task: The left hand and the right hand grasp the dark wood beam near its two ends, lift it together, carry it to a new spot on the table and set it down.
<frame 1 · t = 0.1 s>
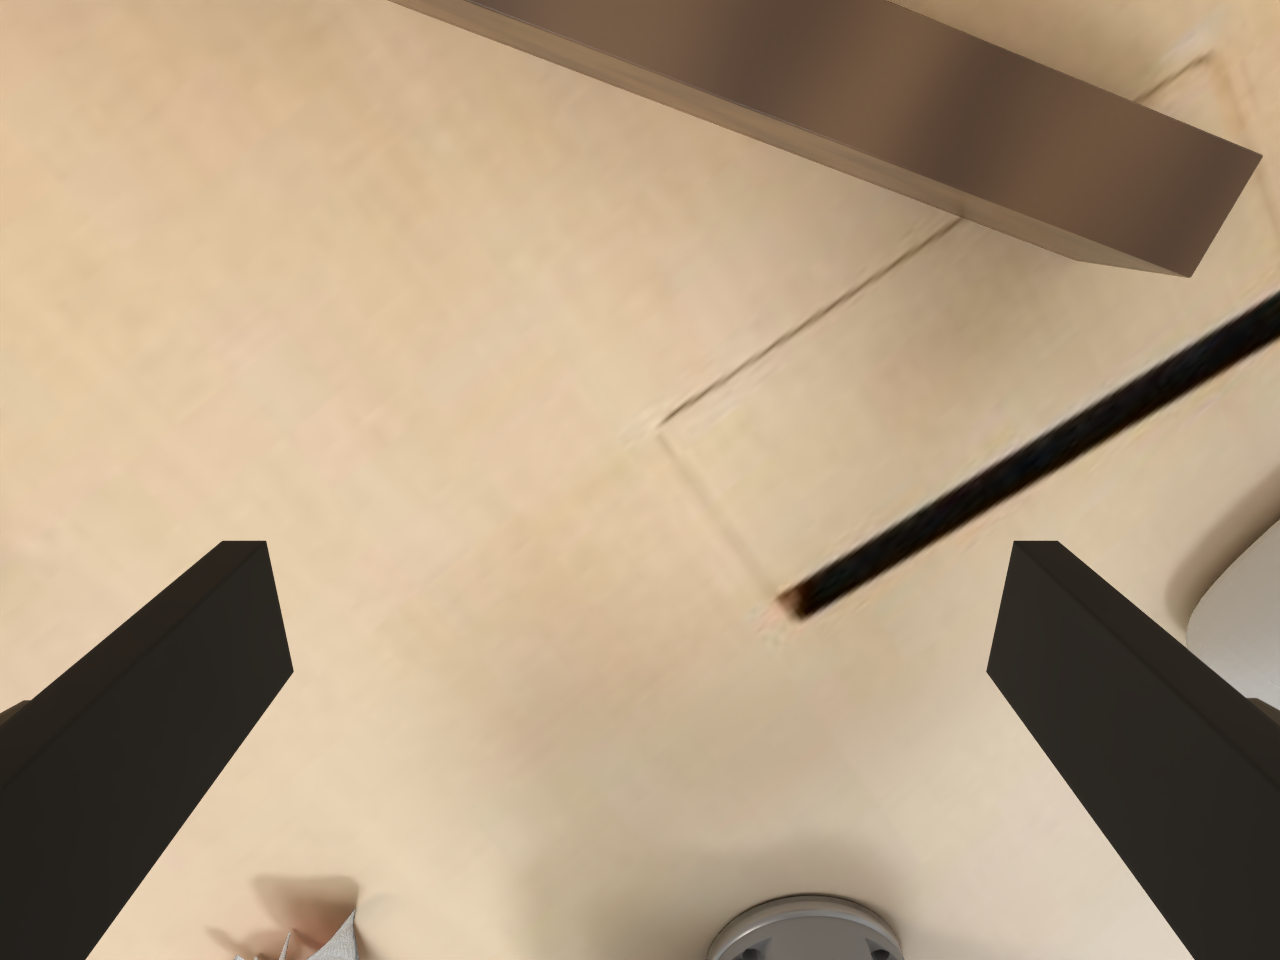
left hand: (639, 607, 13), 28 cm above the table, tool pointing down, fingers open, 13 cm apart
fish: (301, 941, 56), on the table
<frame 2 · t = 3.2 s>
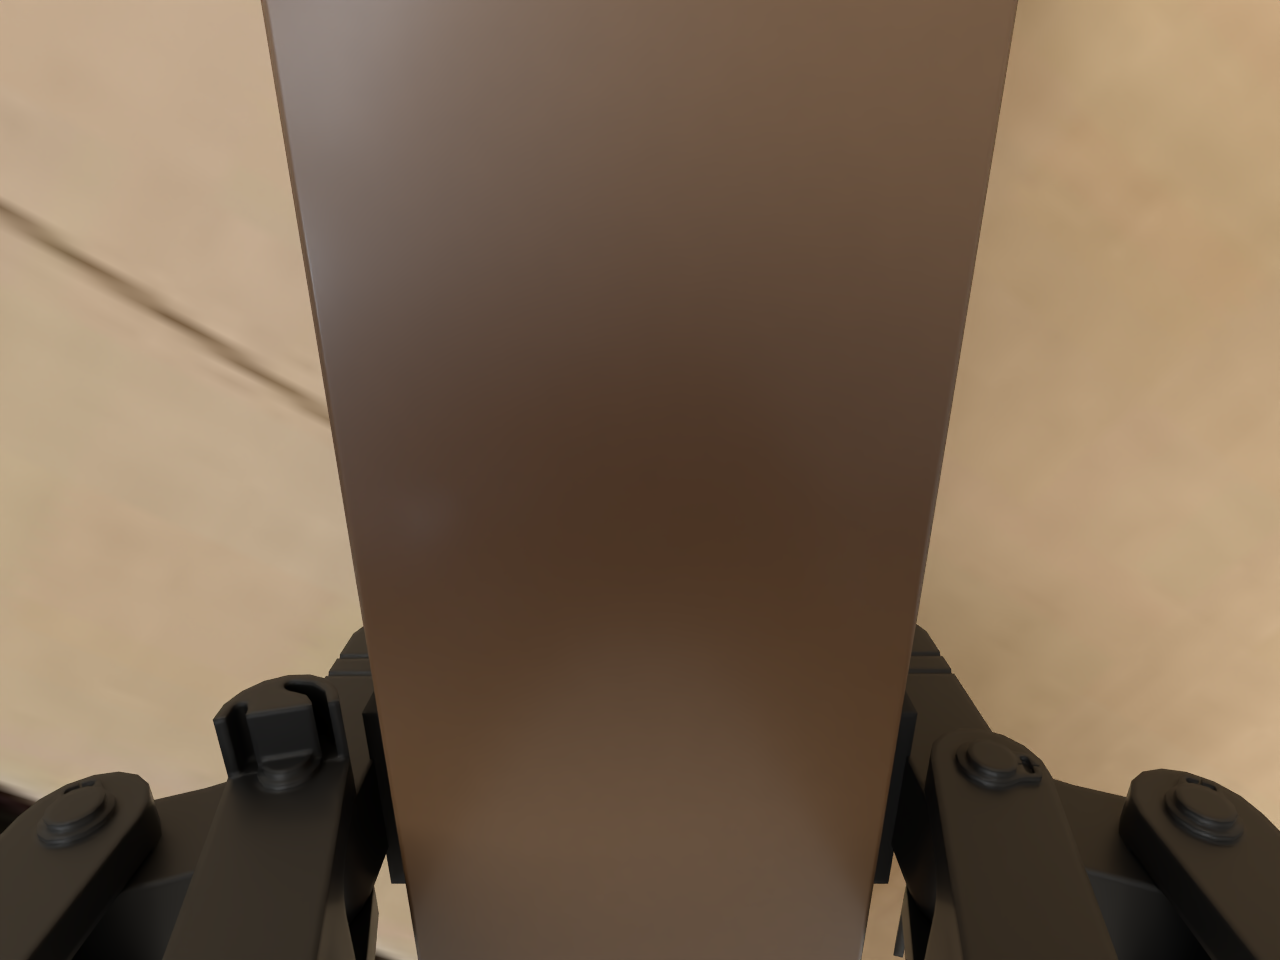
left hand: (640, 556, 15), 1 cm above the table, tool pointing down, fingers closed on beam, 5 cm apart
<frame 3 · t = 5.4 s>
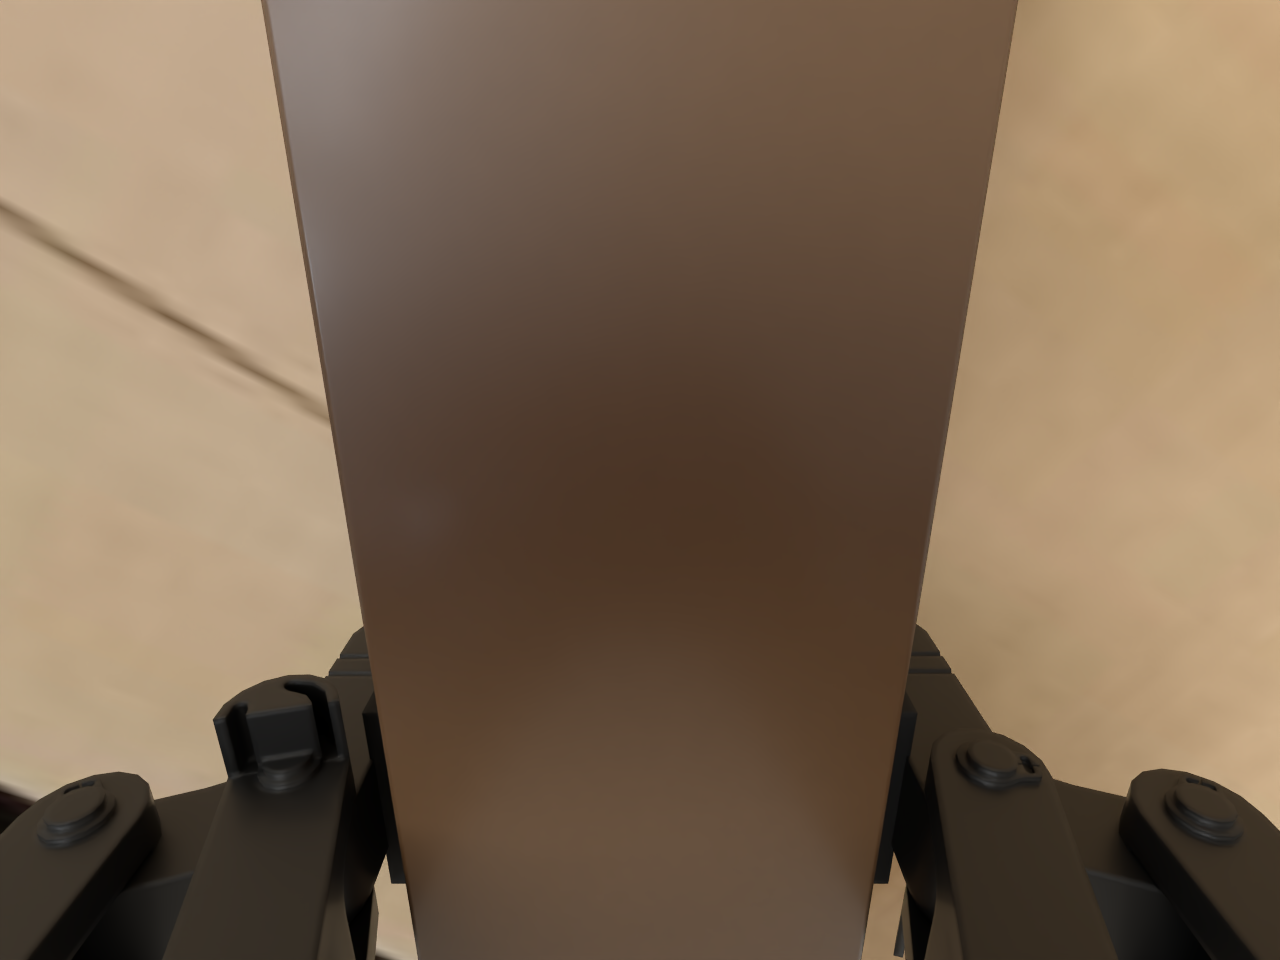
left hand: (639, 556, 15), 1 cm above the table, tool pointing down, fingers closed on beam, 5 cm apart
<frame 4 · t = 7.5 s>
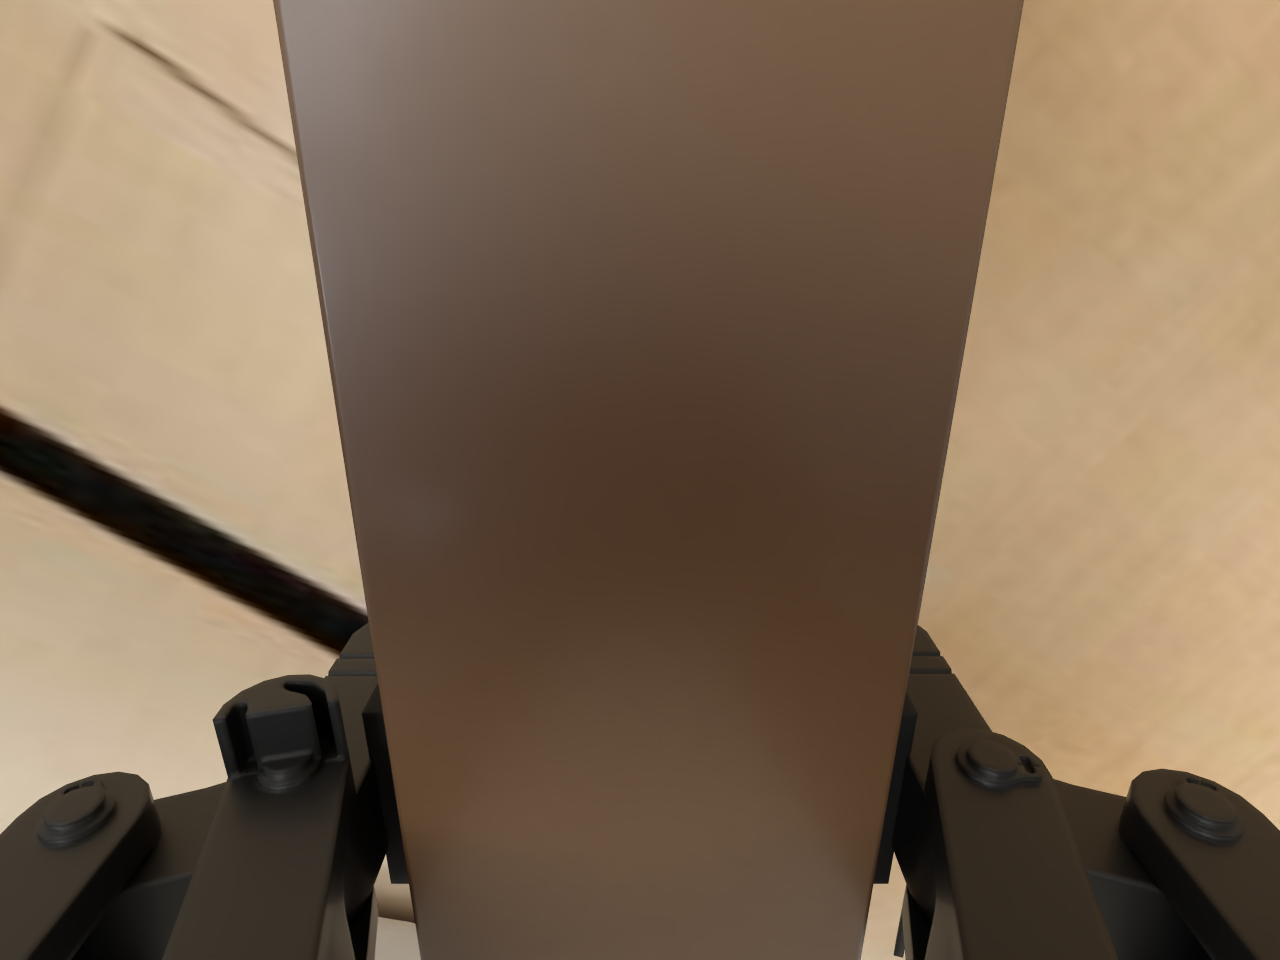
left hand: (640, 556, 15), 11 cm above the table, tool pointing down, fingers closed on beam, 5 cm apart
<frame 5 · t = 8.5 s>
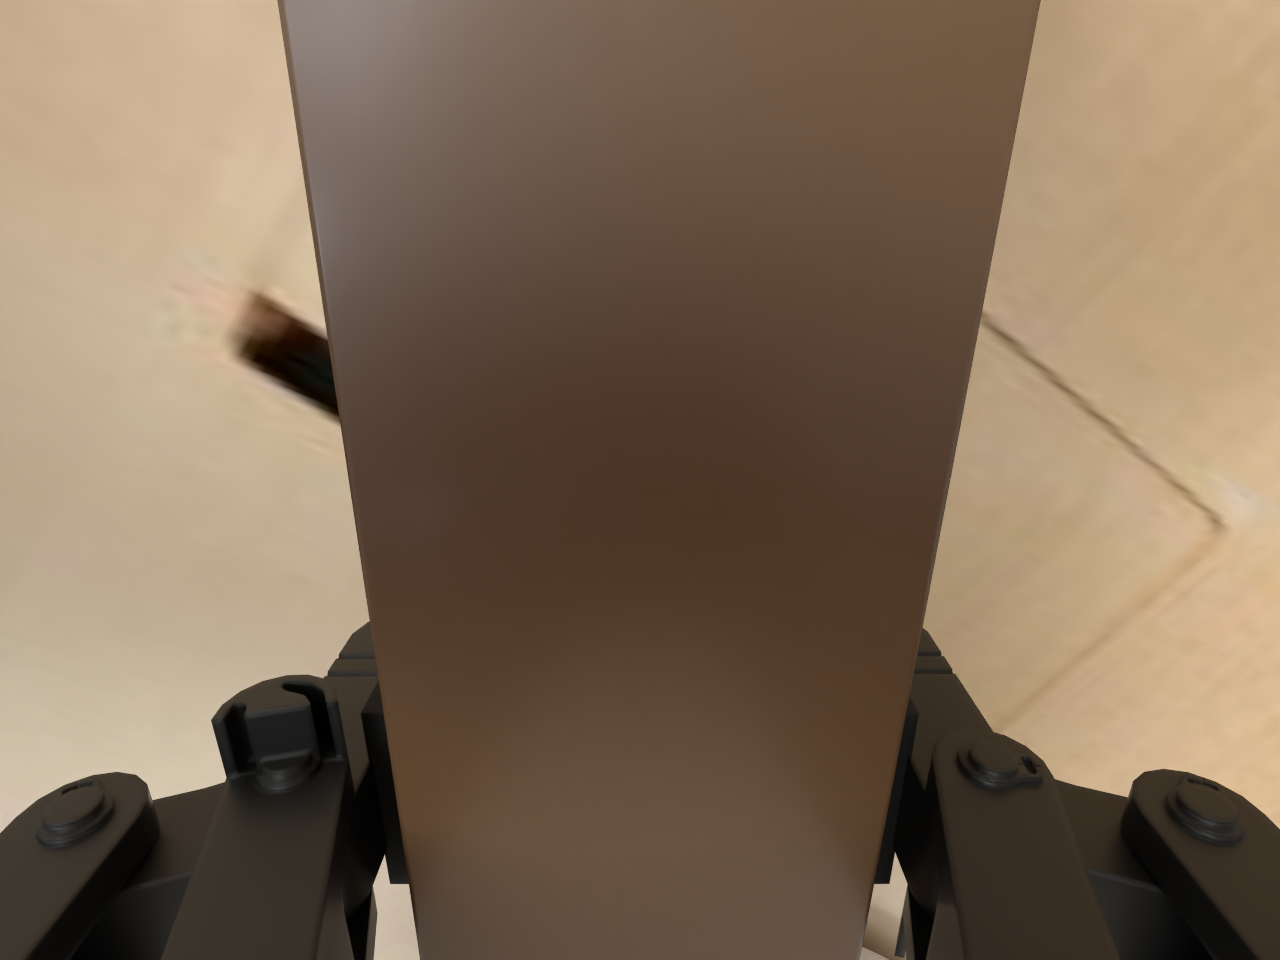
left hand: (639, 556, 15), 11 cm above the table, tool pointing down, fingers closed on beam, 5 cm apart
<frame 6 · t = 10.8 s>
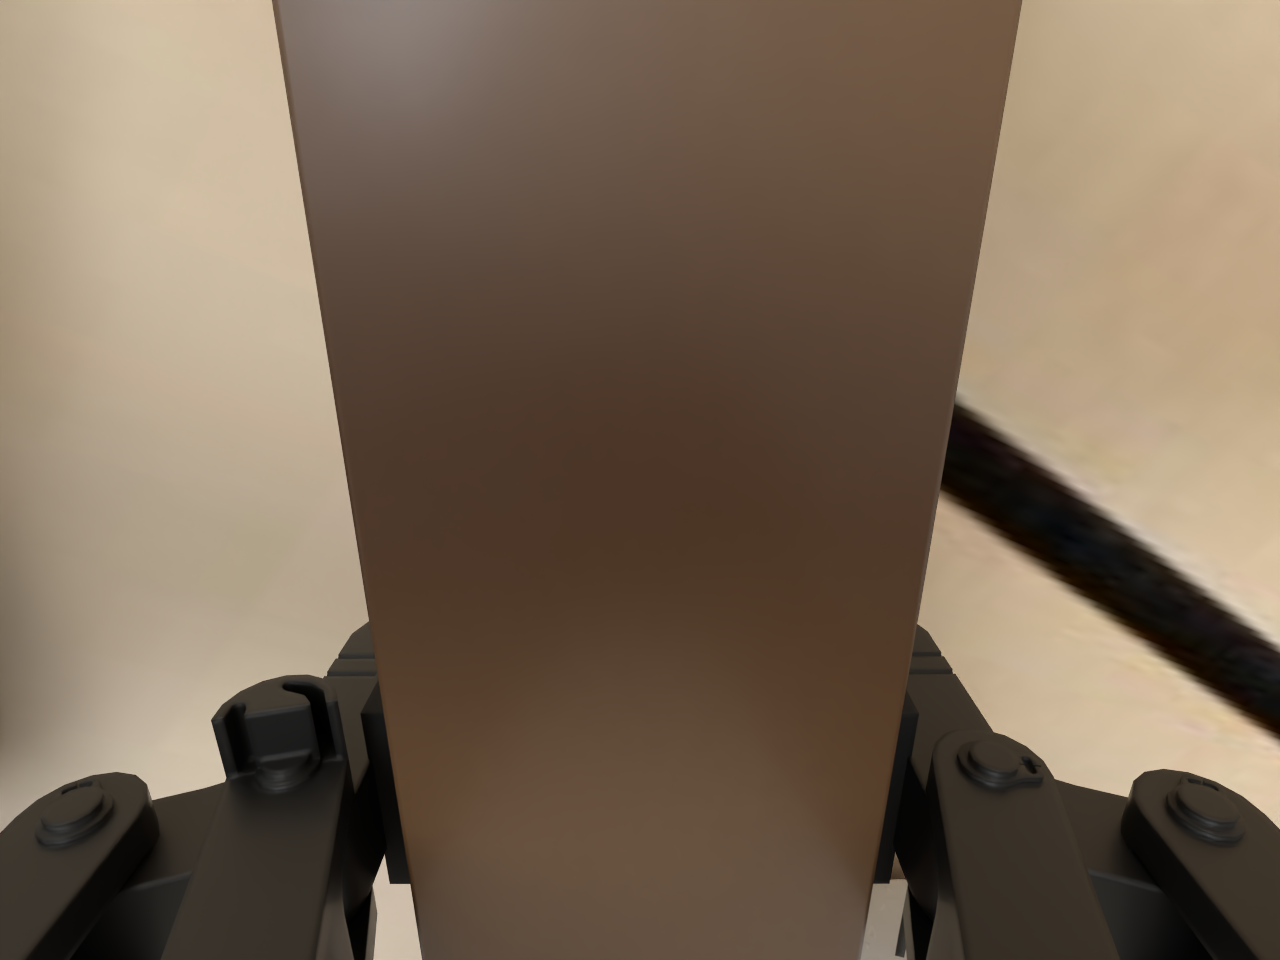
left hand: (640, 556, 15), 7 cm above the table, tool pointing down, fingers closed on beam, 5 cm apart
when the left hand's fingers open (2 cm above the table, at t = 11.8 s): beam stays where it is, on the table.
when the right hand's fingers open (4 cm above the table, at t = 12.0 s): beam stays where it is, on the table.
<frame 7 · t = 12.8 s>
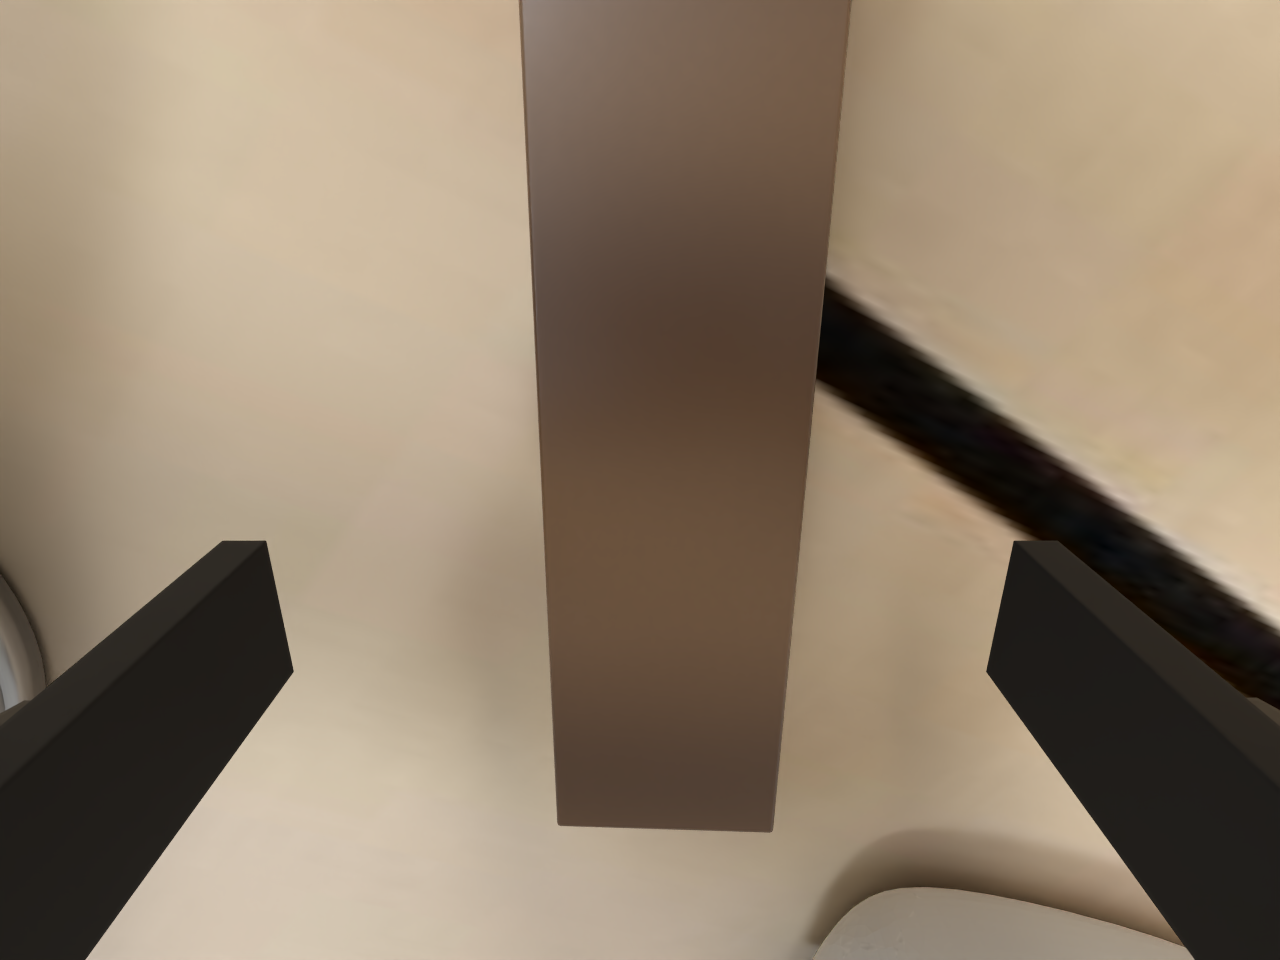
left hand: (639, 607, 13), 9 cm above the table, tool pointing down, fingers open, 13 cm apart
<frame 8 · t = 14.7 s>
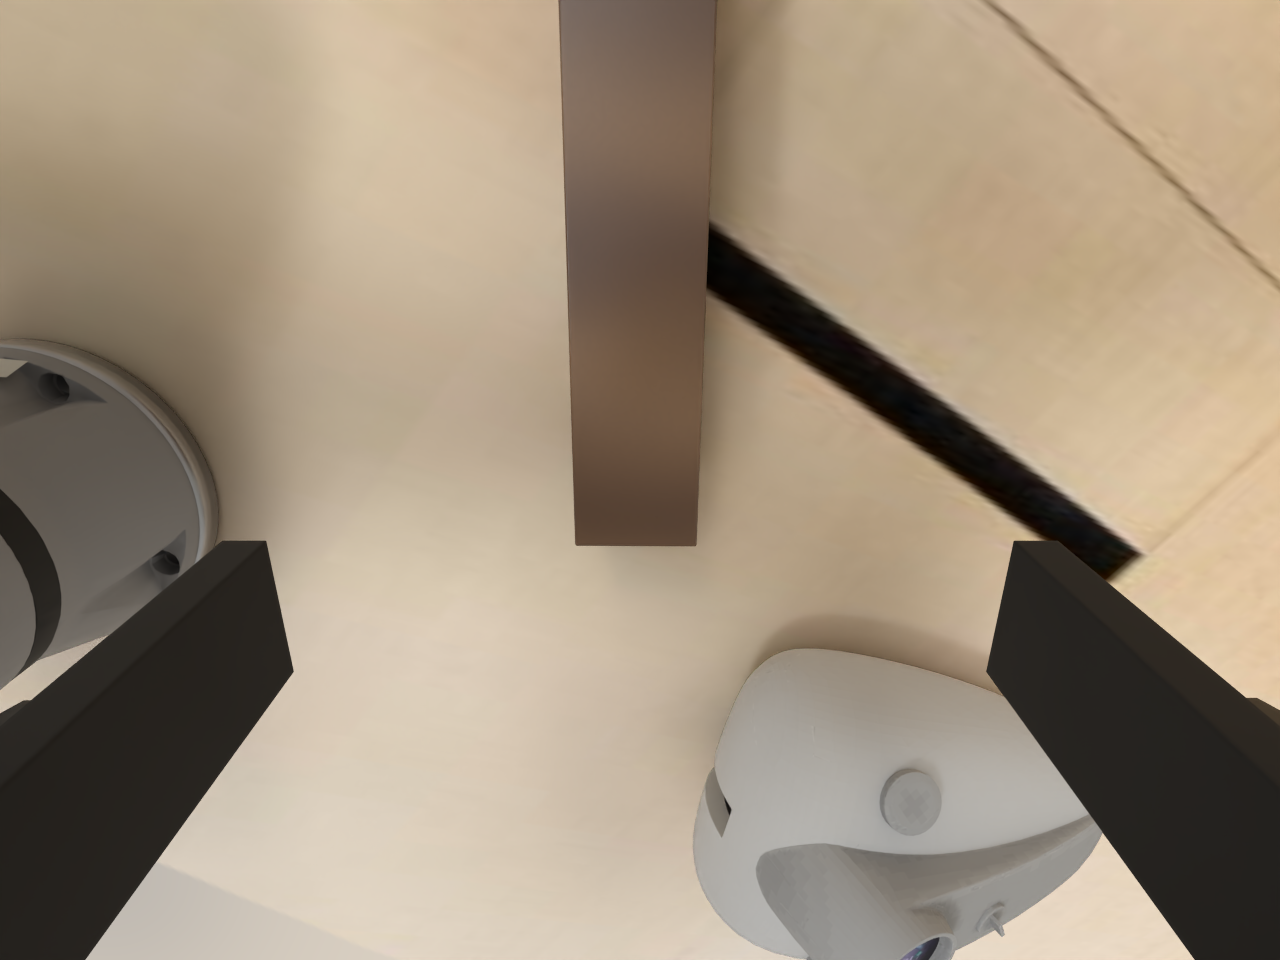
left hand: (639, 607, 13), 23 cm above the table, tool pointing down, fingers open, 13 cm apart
projector: (891, 749, 44), on the table
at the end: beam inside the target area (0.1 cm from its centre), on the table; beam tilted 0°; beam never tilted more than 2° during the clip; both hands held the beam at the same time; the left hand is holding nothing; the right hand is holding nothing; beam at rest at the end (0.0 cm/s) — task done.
